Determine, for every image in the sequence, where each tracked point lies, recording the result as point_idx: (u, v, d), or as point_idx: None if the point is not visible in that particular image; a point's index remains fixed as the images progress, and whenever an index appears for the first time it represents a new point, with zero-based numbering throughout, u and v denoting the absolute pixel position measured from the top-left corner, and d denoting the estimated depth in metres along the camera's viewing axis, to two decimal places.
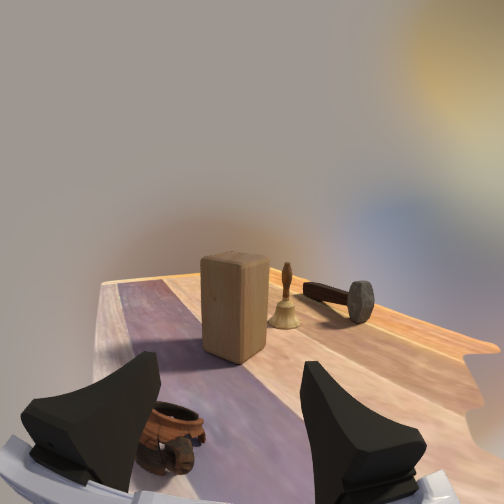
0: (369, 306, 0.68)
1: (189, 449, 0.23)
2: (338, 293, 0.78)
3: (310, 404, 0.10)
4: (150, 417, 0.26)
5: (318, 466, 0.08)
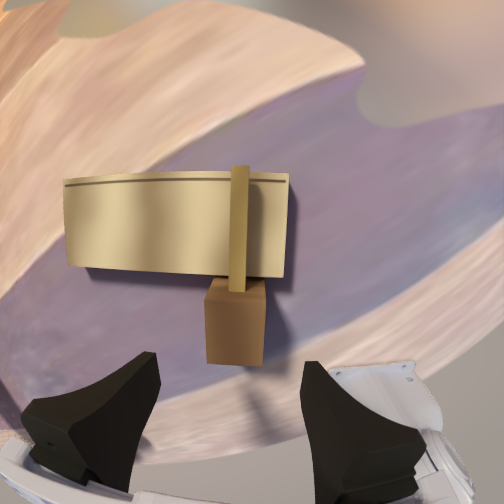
0: None
1: None
2: None
3: (310, 404, 0.10)
4: None
5: (318, 466, 0.08)
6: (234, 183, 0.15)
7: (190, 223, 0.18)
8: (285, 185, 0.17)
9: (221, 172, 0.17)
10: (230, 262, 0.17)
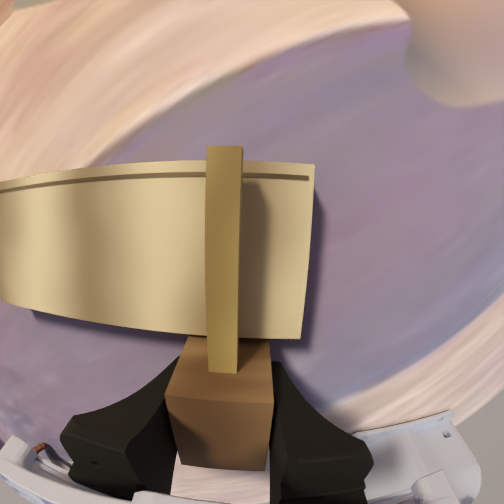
0: None
1: None
2: None
3: None
4: None
5: (271, 469, 0.08)
6: (212, 181, 0.08)
7: (144, 251, 0.10)
8: (308, 185, 0.10)
9: (194, 162, 0.10)
10: (209, 328, 0.09)
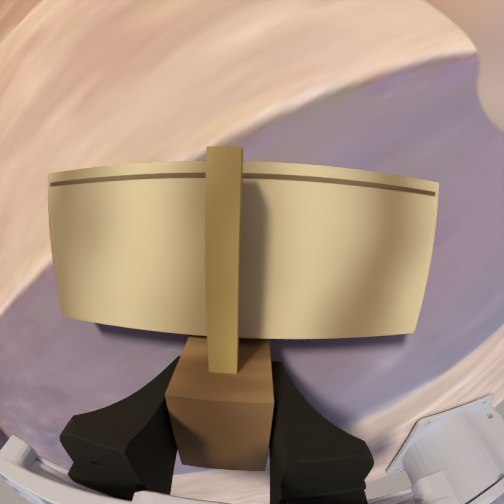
0: None
1: None
2: None
3: None
4: None
5: (272, 469, 0.08)
6: (212, 182, 0.08)
7: (291, 257, 0.10)
8: (435, 200, 0.10)
9: (348, 170, 0.10)
10: (209, 328, 0.09)
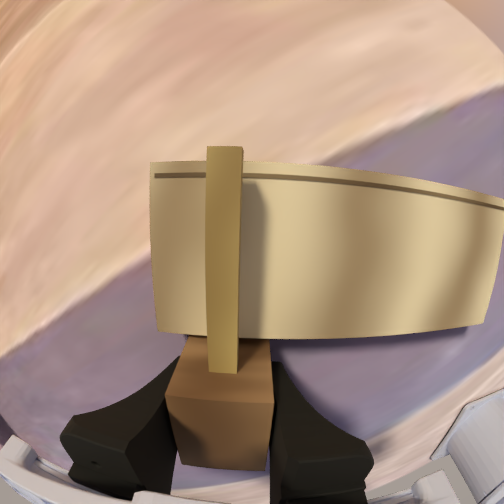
0: None
1: None
2: None
3: None
4: None
5: (272, 469, 0.08)
6: (213, 181, 0.08)
7: (414, 261, 0.10)
8: (503, 214, 0.10)
9: (455, 188, 0.09)
10: (209, 328, 0.09)
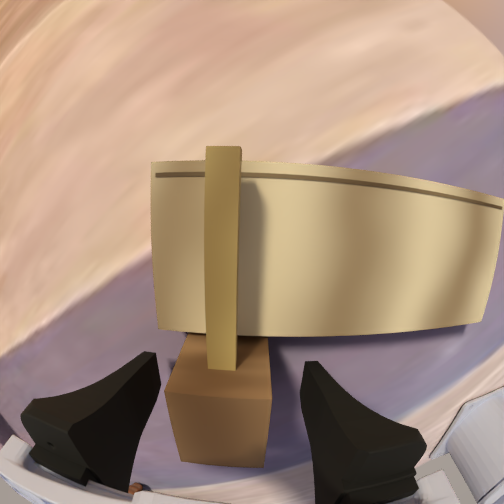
0: None
1: None
2: None
3: (310, 404, 0.10)
4: None
5: (318, 466, 0.08)
6: (212, 180, 0.08)
7: (412, 260, 0.10)
8: (501, 213, 0.10)
9: (453, 187, 0.10)
10: (208, 325, 0.09)
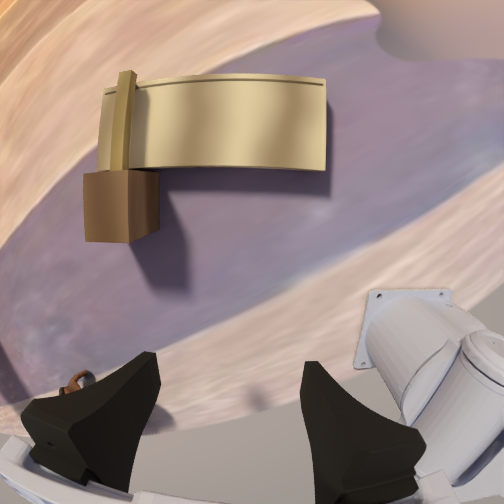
0: None
1: None
2: None
3: (310, 404, 0.10)
4: None
5: (318, 466, 0.08)
6: (119, 84, 0.15)
7: (234, 116, 0.17)
8: (323, 87, 0.17)
9: (265, 75, 0.17)
10: (112, 146, 0.16)
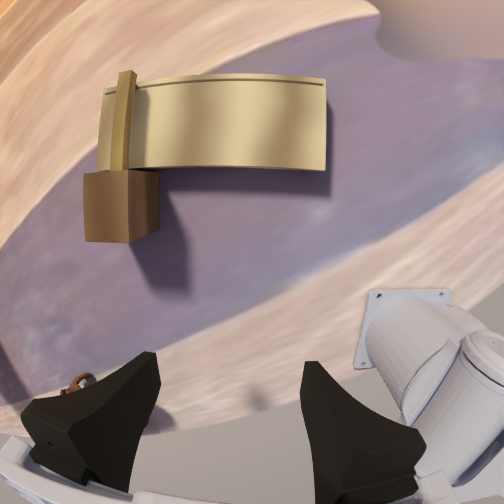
0: None
1: None
2: None
3: (310, 404, 0.10)
4: None
5: (318, 466, 0.08)
6: (119, 84, 0.15)
7: (234, 116, 0.17)
8: (323, 87, 0.17)
9: (265, 75, 0.17)
10: (112, 146, 0.16)
